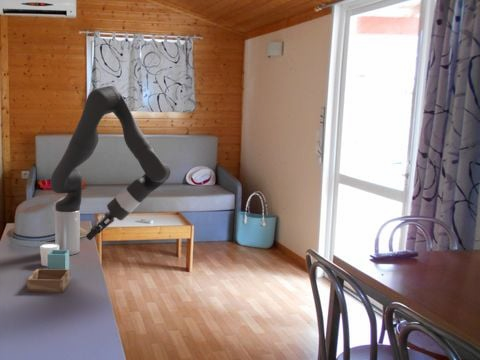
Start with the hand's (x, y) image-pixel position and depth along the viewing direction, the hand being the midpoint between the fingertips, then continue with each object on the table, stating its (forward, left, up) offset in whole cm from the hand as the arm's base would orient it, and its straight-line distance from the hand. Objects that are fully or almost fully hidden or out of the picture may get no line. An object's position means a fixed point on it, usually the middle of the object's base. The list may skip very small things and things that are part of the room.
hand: (90, 235), depth 201 cm
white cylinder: (-12, -17, -15) cm, 25 cm away
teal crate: (0, -11, -14) cm, 18 cm away
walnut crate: (+12, -11, -14) cm, 22 cm away
